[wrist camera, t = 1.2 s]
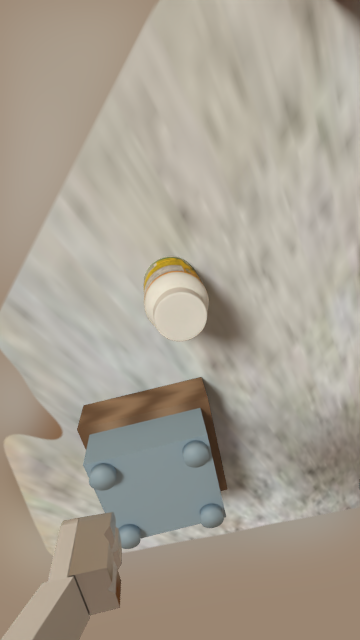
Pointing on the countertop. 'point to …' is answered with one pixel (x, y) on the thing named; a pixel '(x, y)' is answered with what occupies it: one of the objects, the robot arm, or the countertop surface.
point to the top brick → (155, 476)
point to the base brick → (152, 413)
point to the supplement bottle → (175, 299)
